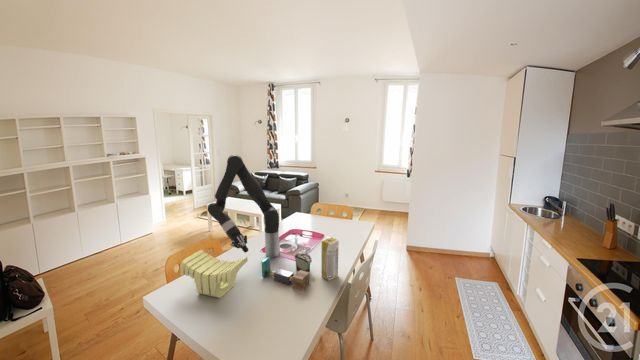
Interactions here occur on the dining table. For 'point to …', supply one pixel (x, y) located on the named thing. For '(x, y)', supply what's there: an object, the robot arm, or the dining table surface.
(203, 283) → the slatted curved stool
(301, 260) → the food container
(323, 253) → the juice carton
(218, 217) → the robot arm
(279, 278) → the sleeve
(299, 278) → the brown block
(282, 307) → the dining table surface
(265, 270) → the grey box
